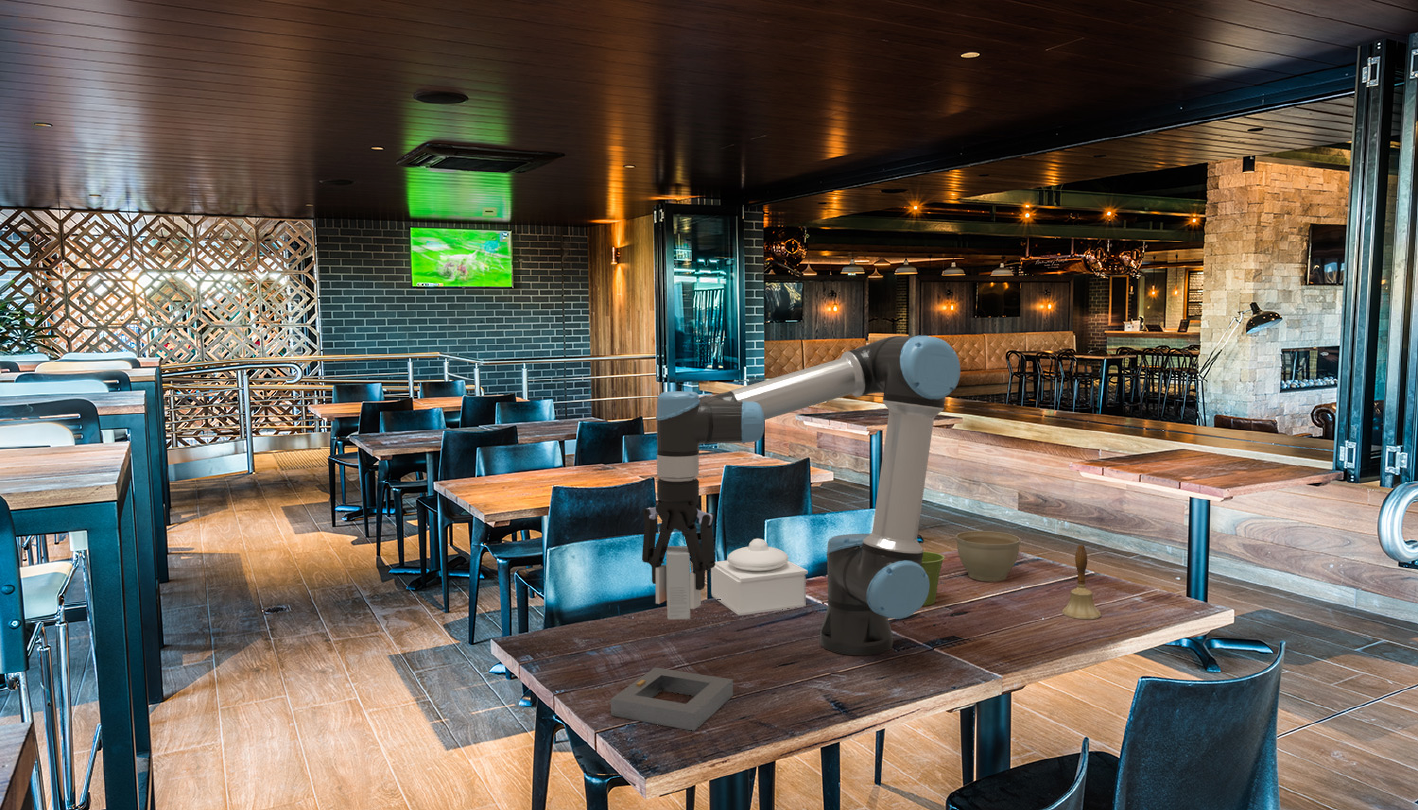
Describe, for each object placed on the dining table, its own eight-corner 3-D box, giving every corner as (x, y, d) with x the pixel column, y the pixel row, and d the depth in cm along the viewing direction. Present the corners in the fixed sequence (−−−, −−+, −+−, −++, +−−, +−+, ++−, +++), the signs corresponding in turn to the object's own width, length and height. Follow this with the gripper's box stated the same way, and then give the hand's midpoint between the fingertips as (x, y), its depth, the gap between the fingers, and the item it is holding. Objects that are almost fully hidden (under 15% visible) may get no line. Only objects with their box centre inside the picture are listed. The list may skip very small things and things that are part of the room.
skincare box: (666, 609, 168) (666, 545, 167) (689, 609, 168) (689, 545, 168) (666, 619, 162) (666, 553, 161) (690, 619, 162) (690, 553, 161)
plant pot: (951, 599, 221) (951, 553, 221) (935, 612, 211) (935, 564, 211) (904, 592, 228) (904, 548, 227) (886, 604, 218) (886, 558, 217)
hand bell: (1061, 617, 206) (1062, 548, 205) (1062, 607, 213) (1063, 540, 212) (1101, 621, 203) (1102, 550, 201) (1100, 610, 210) (1101, 542, 209)
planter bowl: (1010, 589, 229) (1011, 546, 228) (947, 580, 238) (947, 539, 237) (1027, 574, 242) (1027, 534, 241) (966, 567, 251) (966, 528, 250)
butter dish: (711, 596, 228) (710, 534, 227) (776, 588, 235) (776, 527, 233) (738, 616, 212) (737, 549, 211) (808, 606, 218) (807, 541, 217)
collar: (733, 695, 165) (732, 677, 165) (694, 731, 151) (694, 711, 151) (655, 682, 172) (654, 665, 172) (611, 715, 158) (610, 697, 157)
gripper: (735, 478, 162) (735, 605, 164) (642, 471, 171) (643, 592, 173) (717, 484, 156) (716, 617, 157) (620, 476, 164) (621, 602, 166)
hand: (678, 603), depth 165 cm, fingers closed on skincare box, 6 cm apart
